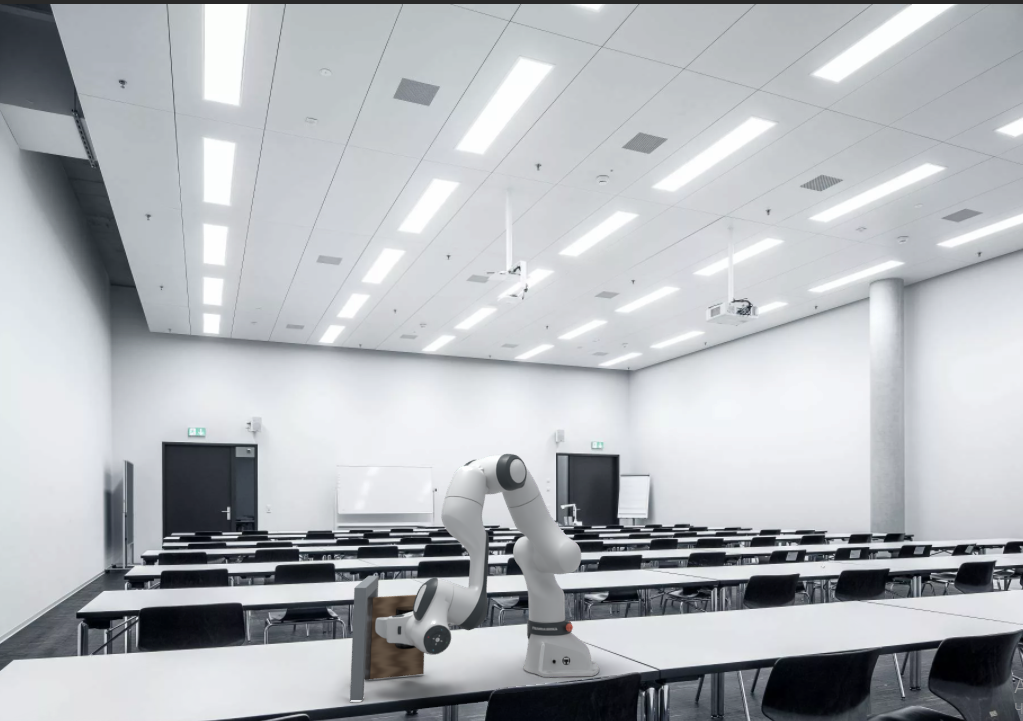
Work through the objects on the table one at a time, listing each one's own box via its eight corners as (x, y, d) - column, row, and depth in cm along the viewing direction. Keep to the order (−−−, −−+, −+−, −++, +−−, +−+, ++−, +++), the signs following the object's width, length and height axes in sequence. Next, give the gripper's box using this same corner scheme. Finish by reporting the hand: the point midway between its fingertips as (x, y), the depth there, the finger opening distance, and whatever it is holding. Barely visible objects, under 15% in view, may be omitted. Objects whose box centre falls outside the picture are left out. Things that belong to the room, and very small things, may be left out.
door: (366, 681, 190) (369, 599, 194) (364, 678, 193) (367, 597, 197) (424, 675, 196) (426, 595, 200) (422, 672, 199) (424, 594, 203)
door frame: (364, 676, 197) (368, 575, 202) (375, 676, 197) (378, 575, 202) (349, 702, 173) (354, 587, 178) (361, 702, 174) (366, 587, 179)
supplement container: (415, 643, 196) (415, 605, 198) (421, 648, 190) (422, 608, 192) (391, 645, 193) (392, 607, 195) (398, 650, 187) (399, 610, 189)
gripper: (457, 612, 186) (441, 604, 199) (382, 618, 178) (371, 609, 191) (456, 637, 185) (441, 627, 197) (381, 643, 177) (370, 633, 189)
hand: (406, 618), depth 194 cm, fingers closed on supplement container, 7 cm apart
